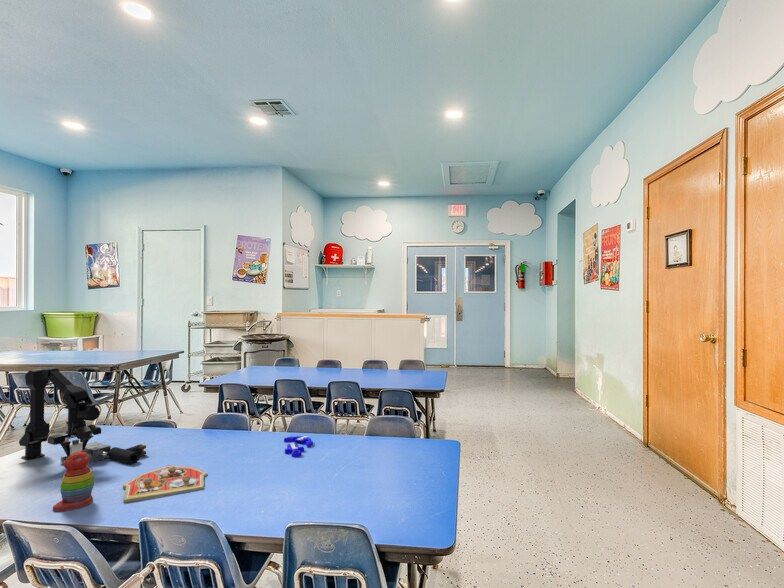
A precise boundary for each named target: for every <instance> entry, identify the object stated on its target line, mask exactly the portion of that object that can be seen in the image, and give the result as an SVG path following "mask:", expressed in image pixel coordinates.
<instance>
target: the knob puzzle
mask: <svg viewBox="0 0 784 588" xmlns="http://www.w3.org/2000/svg"><path fill="white" fill-rule="evenodd" d="M207 476H208V472H207V471H205V470H202V469H199V468H196V467H194V466H184V465H182V466H181V465H169V464H168V465H166V466H165V465H164V466H163V467H159V468H156V469H152V470H149V471H147V472H144V473H142V474H138V475H136V476H135V477H133V478H131V479H130V480H128V481H127V482H125V483H124V484H123V485H122V489H123V490H124V496H123V501H122V503H123V504H128V503H135V502H139V501H144V500H150V499H155V498H156V497H157V498H162V497H167V495H168V496H173V495H172V494H174V495H179V494H185V493H189V492H196V491H200V490H204V487H205V483H204V478H205V477H207ZM184 492H185V493H184ZM161 496H162V497H161Z"/></svg>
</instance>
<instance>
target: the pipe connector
mask: <svg viewBox="0 0 784 588" xmlns="http://www.w3.org/2000/svg"><path fill="white" fill-rule="evenodd" d="M146 449H147V445H145V444H137V445H134V446H131V447H128V448H127V447H126V448H125V449H124V448H121V447H117V446H114V447H112V448H111V450H110V451H109V454H108V456H109V457H108V459H111V460H115V461H118V462H121V463H124V464H129V465H134V464H136V463H138V462H139V459H140V457H142V456H146V455H147V451H146Z"/></svg>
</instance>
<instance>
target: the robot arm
mask: <svg viewBox="0 0 784 588" xmlns="http://www.w3.org/2000/svg"><path fill="white" fill-rule="evenodd" d="M24 379H25V385H26V386H27V387H28V389H29V390H30V395H29V398H30V399H29V401H30V403H29V406H30V407H29V422H28V424H27V426H26V427H25V428H24V434H23V435H22V436H21V438H20V439H19V441H18V443H19V446H20V447H21V446H22V447H24V453H25V454H24V455H22V456H21V457H20V458H21V459H24V460H26V461H30V460H32V459H36V458H37V459H38V458H40V457H45V455H46V454H45V453H42V443H43V442H47V444H49V445H52V446H53V445H54V446H55V445H60V446H61V447H62V449H63V451H64V453H65V455H67V457H69V456H70V444H71V443H72V441H70V439H74V438H77V440H79V442H82V450H84V449H85V447H86V444H88V442H89V441H90V439H92V438H94V436H98V435H100V434H102V428H101V427H100V426H96V425H95V424H94V423H92V424H90V425H87V423H86V421H90V422H93V421H96V420H98V418H99V417H100V414H101V412H100V409H99V408H98V407H96V404H93V402H92V399H91V397H90V396H89V394H88V392H87V390H86V389H84V388H83V387H81V386H78V385H75V384H74V383H72V382H71V381H70V380H69V379H68V378H67V377H66V376H65V375H64V374H62V372H60V369H59V368H57V367H50V368H41V369H31V370H28V371H27V372H26V373H25V375H24ZM49 382H50V383H52V384H53V385H54V386H55V388H56V389H58V390H59V391H60V392H61V393H62V398H63V400H64V402H65V403H66V404H67V405H65V406H64V409H65V410H67V421H66V422H65V423H66V425H67V430H66V431H65V434H64V435H63V434H60V433H59V434H55V435H50V432H51V431H50V426H51V424H50V423H49V422H46V420H45V389H46V387H47V386H48V384H49ZM49 435H50V436H49Z"/></svg>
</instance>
